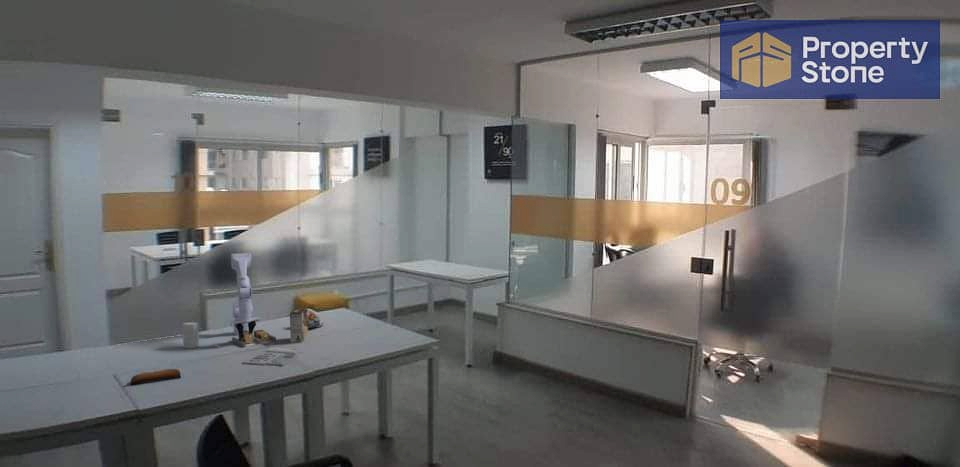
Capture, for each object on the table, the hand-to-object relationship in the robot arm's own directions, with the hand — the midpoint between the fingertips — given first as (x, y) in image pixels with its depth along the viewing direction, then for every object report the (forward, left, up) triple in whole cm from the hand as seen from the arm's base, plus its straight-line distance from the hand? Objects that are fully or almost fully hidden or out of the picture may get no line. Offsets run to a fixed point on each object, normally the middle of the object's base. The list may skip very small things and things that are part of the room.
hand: (245, 337), depth 288 cm
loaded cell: (0, +8, -3) cm, 8 cm away
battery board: (0, +4, -3) cm, 5 cm away
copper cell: (0, 0, -2) cm, 2 cm away
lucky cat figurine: (-7, +40, -4) cm, 41 cm away
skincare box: (-13, -22, -4) cm, 26 cm away
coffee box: (+14, +22, -4) cm, 26 cm away
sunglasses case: (+26, -48, -4) cm, 55 cm away
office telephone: (+32, +1, -4) cm, 32 cm away
